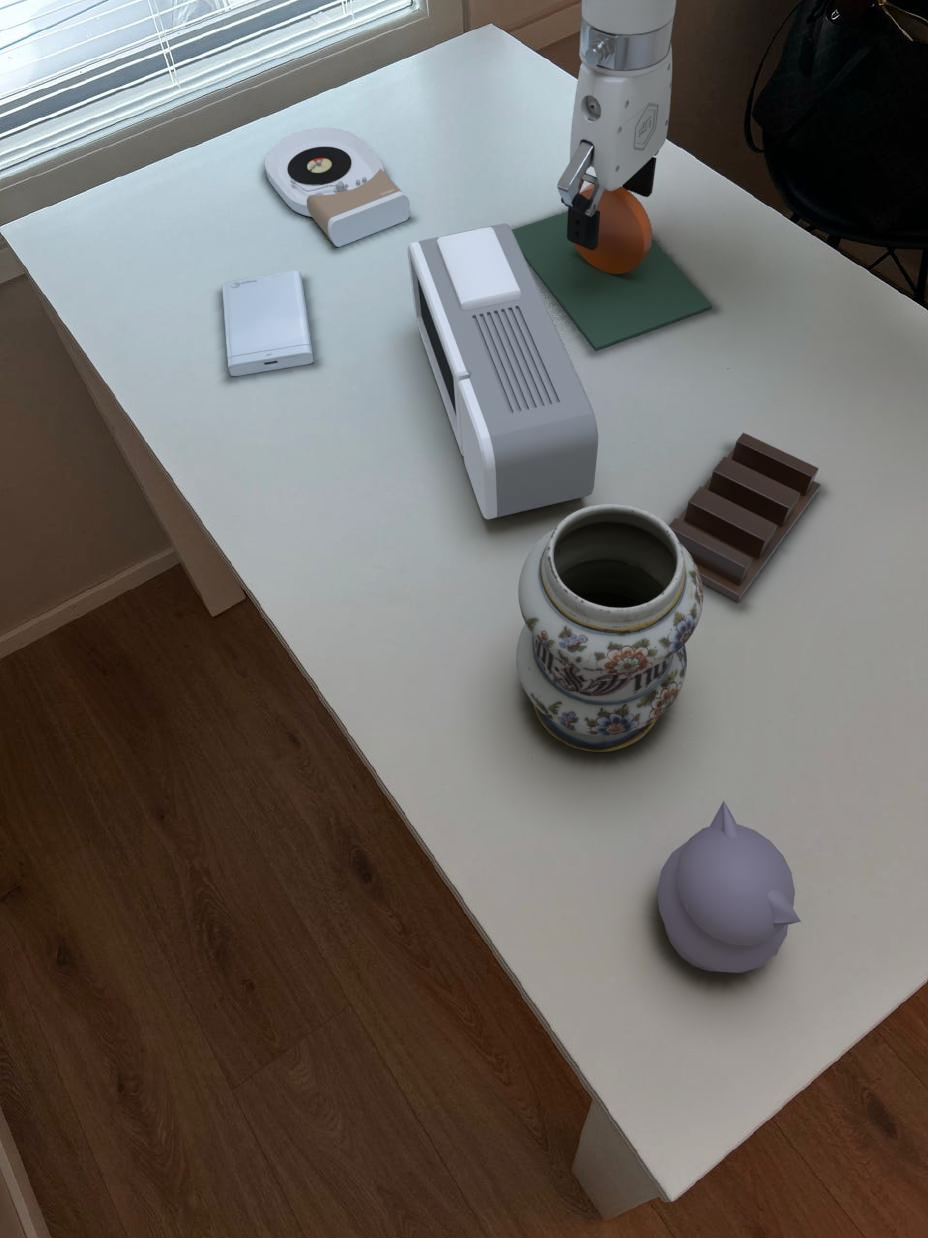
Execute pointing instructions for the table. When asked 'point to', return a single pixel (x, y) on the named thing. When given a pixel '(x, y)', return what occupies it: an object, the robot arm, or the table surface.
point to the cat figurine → (726, 897)
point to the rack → (744, 513)
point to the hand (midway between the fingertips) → (609, 217)
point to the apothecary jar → (606, 625)
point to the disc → (619, 232)
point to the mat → (608, 286)
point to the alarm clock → (502, 372)
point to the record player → (336, 183)
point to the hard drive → (266, 323)
